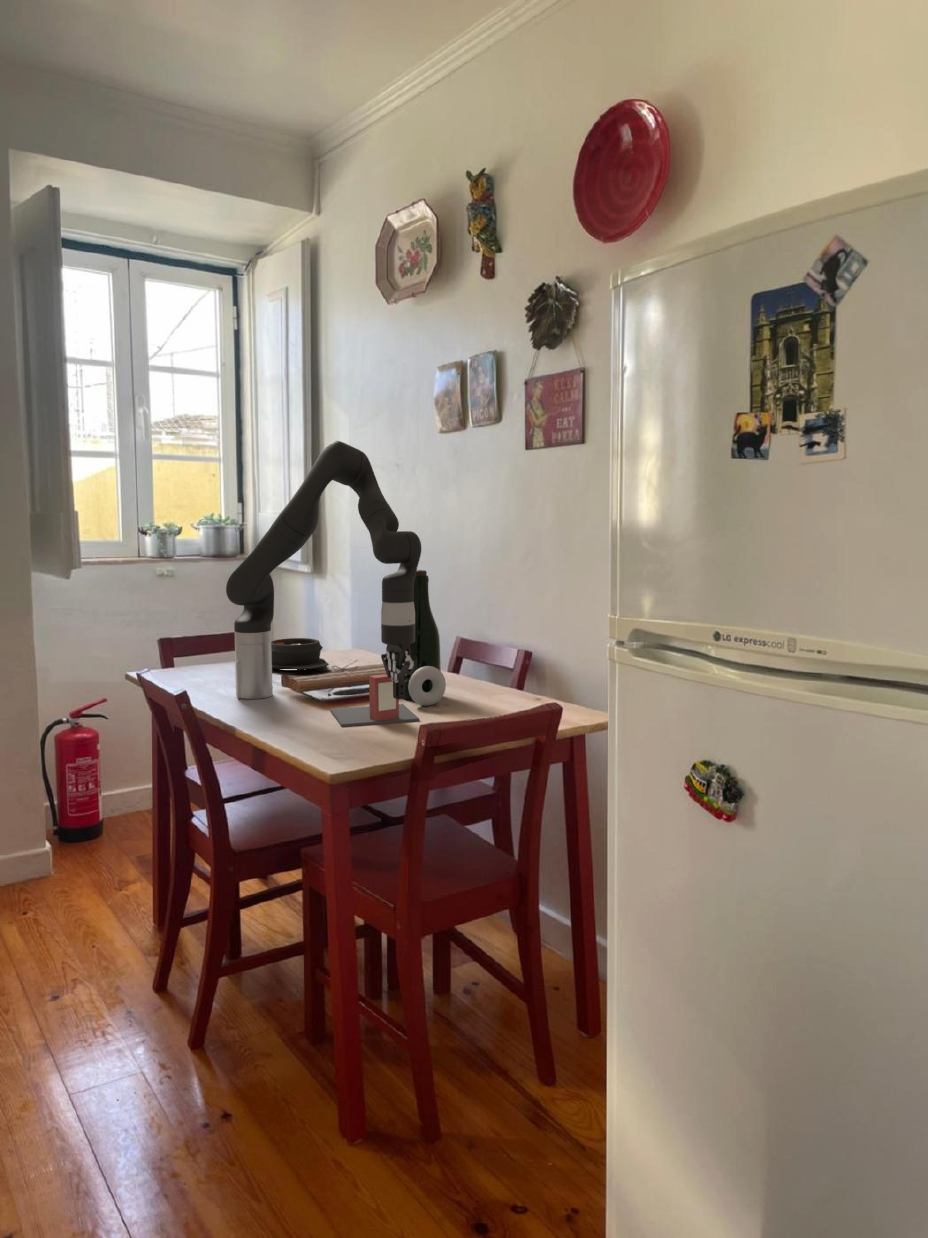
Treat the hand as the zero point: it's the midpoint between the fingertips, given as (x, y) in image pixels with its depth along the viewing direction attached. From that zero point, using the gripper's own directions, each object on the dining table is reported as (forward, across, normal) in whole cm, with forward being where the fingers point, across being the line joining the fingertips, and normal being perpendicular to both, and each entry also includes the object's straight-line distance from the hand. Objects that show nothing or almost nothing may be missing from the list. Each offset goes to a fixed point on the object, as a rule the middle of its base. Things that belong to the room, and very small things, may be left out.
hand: (398, 698), depth 201 cm
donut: (+7, +15, -16) cm, 23 cm away
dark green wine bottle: (+7, +24, -20) cm, 32 cm away
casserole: (+7, +82, -8) cm, 83 cm away
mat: (+6, +12, 0) cm, 14 cm away
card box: (+6, +6, 0) cm, 9 cm away
